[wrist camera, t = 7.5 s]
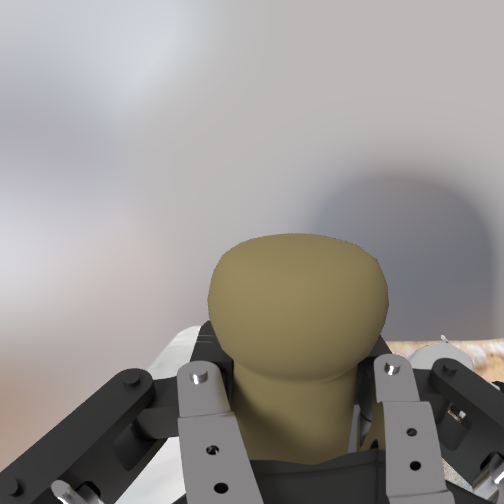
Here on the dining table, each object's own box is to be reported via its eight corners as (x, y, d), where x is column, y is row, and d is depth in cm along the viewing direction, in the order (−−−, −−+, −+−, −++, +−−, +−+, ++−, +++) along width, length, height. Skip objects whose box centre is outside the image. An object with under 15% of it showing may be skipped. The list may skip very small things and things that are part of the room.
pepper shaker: (275, 407, 15) (282, 214, 12) (365, 454, 11) (430, 240, 8) (193, 466, 11) (146, 243, 8) (290, 539, 7) (356, 319, 4)
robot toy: (507, 407, 20) (429, 355, 33) (525, 380, 19) (440, 328, 31) (467, 470, 15) (374, 395, 27) (492, 444, 13) (386, 366, 26)
